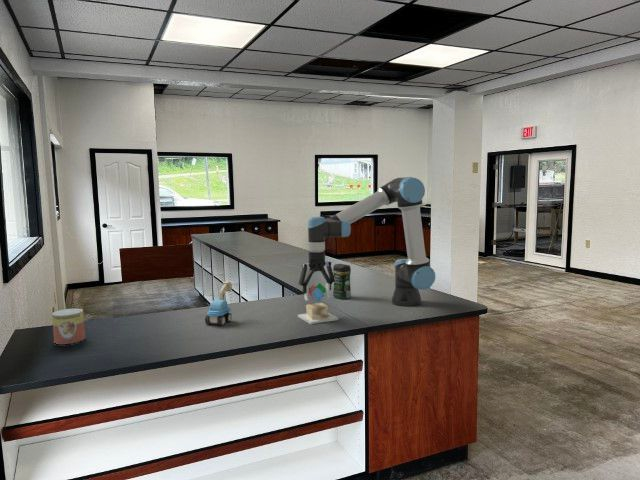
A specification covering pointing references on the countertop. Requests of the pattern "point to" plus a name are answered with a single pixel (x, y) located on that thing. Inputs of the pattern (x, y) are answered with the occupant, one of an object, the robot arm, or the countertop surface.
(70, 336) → the canned food
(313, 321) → the plate
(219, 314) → the toy excavator
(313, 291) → the building blocks
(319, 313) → the maple brick
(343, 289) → the coffee jar
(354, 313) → the countertop surface
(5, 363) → the countertop surface
